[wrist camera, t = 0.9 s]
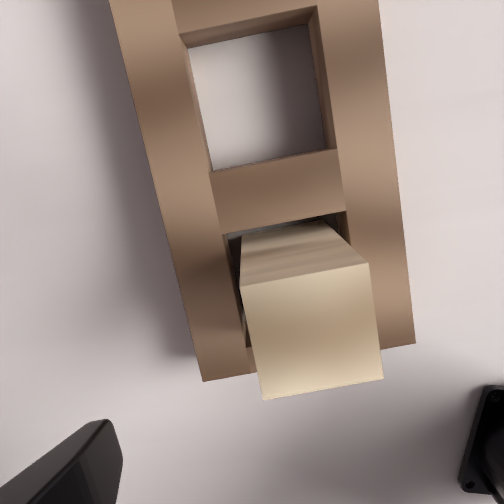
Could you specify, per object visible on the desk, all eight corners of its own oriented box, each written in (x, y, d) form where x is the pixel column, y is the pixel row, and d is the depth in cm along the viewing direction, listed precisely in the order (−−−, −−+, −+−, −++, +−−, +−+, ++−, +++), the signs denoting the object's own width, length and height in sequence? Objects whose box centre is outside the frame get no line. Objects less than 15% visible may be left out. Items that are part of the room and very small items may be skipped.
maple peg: (334, 296, 22) (383, 379, 14) (257, 310, 22) (263, 400, 14) (322, 219, 21) (368, 262, 13) (241, 235, 21) (239, 287, 13)
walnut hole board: (397, 321, 22) (418, 346, 19) (207, 356, 22) (202, 385, 20) (328, -251, 16) (344, -331, 14) (76, -193, 17) (43, -260, 14)
